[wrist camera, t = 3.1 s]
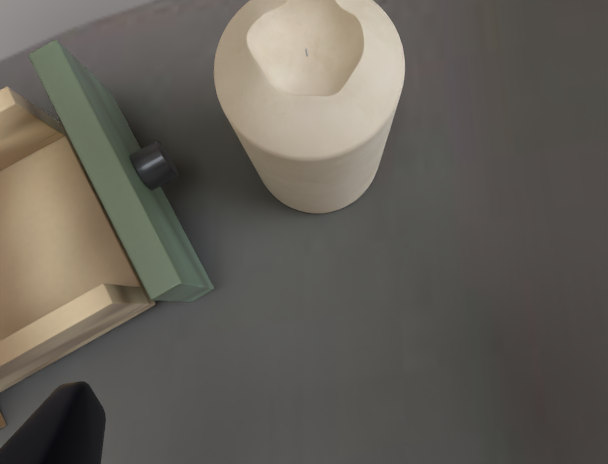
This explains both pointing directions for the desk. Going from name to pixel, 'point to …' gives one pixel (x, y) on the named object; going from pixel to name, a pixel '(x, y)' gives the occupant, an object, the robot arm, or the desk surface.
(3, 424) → the box
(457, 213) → the desk surface
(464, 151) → the desk surface
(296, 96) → the candle
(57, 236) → the drawer
